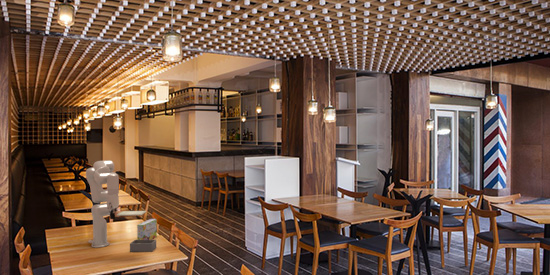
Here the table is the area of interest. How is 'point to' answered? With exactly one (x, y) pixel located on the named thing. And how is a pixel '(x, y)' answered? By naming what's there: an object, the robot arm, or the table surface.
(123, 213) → the lid
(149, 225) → the snack box
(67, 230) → the table surface
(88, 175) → the robot arm
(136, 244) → the tub
